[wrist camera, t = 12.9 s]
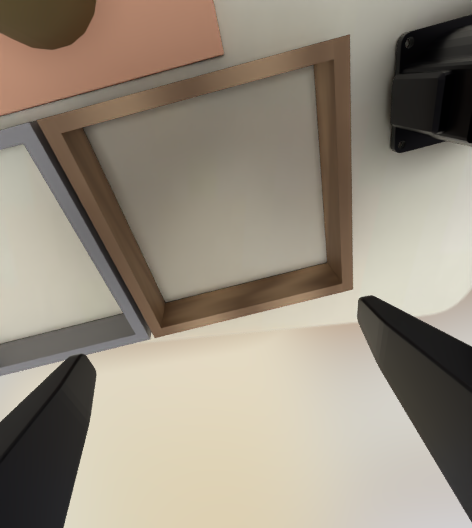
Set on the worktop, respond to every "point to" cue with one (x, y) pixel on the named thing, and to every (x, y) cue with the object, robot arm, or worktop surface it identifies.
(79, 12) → the cork
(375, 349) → the robot arm
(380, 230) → the worktop surface
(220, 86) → the walnut bin
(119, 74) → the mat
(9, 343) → the charcoal bin
